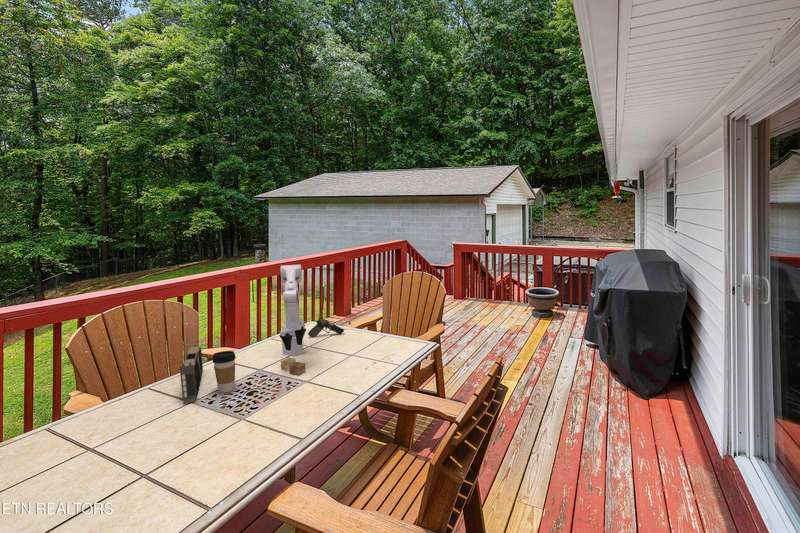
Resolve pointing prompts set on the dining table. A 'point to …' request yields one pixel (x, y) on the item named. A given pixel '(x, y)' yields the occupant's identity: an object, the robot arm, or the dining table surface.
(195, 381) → the graphics card
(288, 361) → the maple block
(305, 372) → the board
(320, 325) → the handgun
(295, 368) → the walnut block
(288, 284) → the robot arm
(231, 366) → the coffee cup
